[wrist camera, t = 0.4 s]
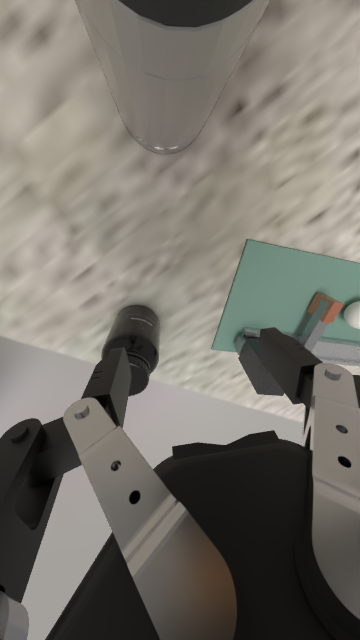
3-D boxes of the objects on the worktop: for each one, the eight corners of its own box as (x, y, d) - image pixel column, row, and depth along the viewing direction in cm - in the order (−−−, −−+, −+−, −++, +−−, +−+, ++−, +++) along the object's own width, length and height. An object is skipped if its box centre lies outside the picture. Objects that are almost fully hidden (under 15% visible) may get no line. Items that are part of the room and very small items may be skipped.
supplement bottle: (152, 299, 30) (150, 348, 19) (164, 337, 33) (166, 396, 23) (107, 309, 30) (80, 363, 19) (123, 346, 33) (107, 409, 23)
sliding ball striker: (255, 282, 29) (297, 312, 20) (326, 294, 31) (392, 327, 22) (231, 347, 34) (256, 394, 26) (293, 354, 36) (335, 399, 28)
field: (246, 239, 27) (248, 239, 27) (470, 286, 34) (473, 287, 34) (211, 348, 35) (211, 349, 35) (397, 368, 42) (399, 369, 42)
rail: (243, 326, 33) (247, 331, 32) (380, 344, 38) (389, 349, 37) (235, 348, 35) (238, 354, 34) (366, 362, 40) (374, 368, 39)
